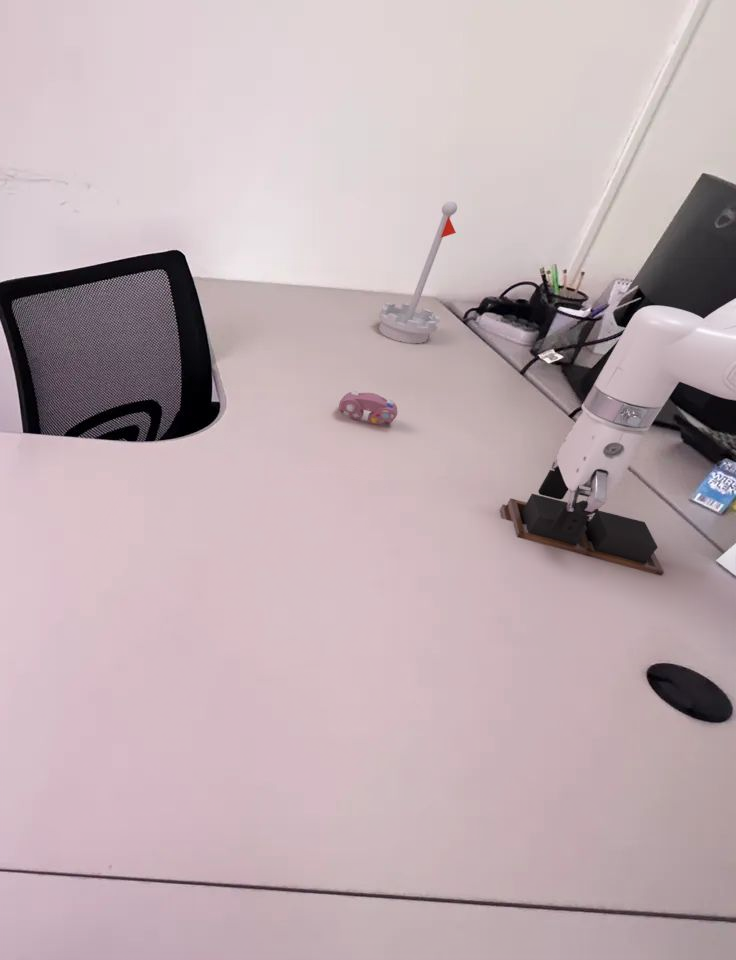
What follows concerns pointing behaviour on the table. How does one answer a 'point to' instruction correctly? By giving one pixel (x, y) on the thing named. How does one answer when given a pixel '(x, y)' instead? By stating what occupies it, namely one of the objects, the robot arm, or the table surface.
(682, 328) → the robot arm
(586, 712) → the table surface
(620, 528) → the black pad
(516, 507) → the brown wooden frame
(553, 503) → the black pad
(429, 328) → the flag stand
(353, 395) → the video game controller
